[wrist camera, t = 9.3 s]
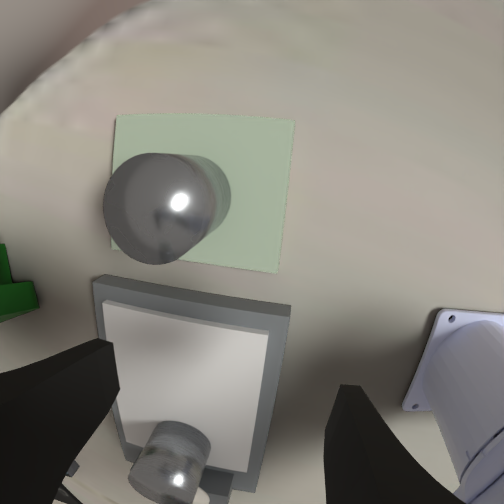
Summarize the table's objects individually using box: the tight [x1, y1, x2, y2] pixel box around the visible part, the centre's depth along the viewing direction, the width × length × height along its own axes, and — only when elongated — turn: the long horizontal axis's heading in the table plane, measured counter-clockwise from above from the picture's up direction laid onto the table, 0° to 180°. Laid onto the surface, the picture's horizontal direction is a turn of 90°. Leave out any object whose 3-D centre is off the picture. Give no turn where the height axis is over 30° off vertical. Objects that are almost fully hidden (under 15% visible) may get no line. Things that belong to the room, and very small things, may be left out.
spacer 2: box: [128, 421, 211, 504], centre depth 18 cm, size 4×4×5 cm
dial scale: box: [93, 274, 291, 504], centre depth 19 cm, size 12×19×4 cm, turn 175°
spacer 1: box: [103, 153, 231, 265], centre depth 14 cm, size 4×4×5 cm
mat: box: [111, 113, 295, 274], centre depth 17 cm, size 10×8×1 cm
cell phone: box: [54, 483, 82, 504], centre depth 34 cm, size 9×18×1 cm, turn 110°
